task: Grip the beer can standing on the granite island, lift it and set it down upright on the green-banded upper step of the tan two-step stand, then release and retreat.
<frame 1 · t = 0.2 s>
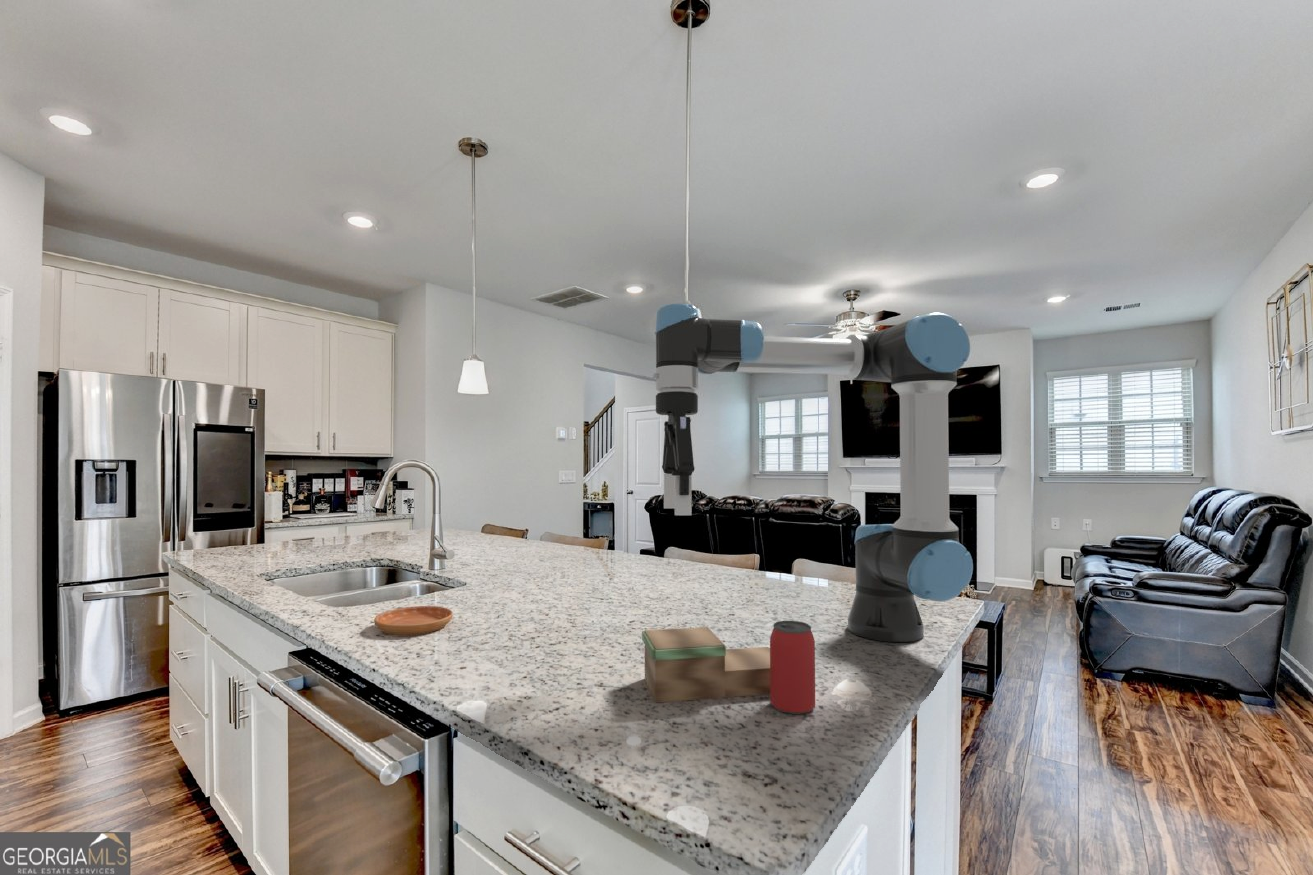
hand: (676, 511, 104), 28 cm above the worktop, fingers open, 13 cm apart
saucer: (414, 629, 129), on the worktop
step stand: (715, 685, 96), on the worktop
beer can: (792, 707, 88), on the worktop
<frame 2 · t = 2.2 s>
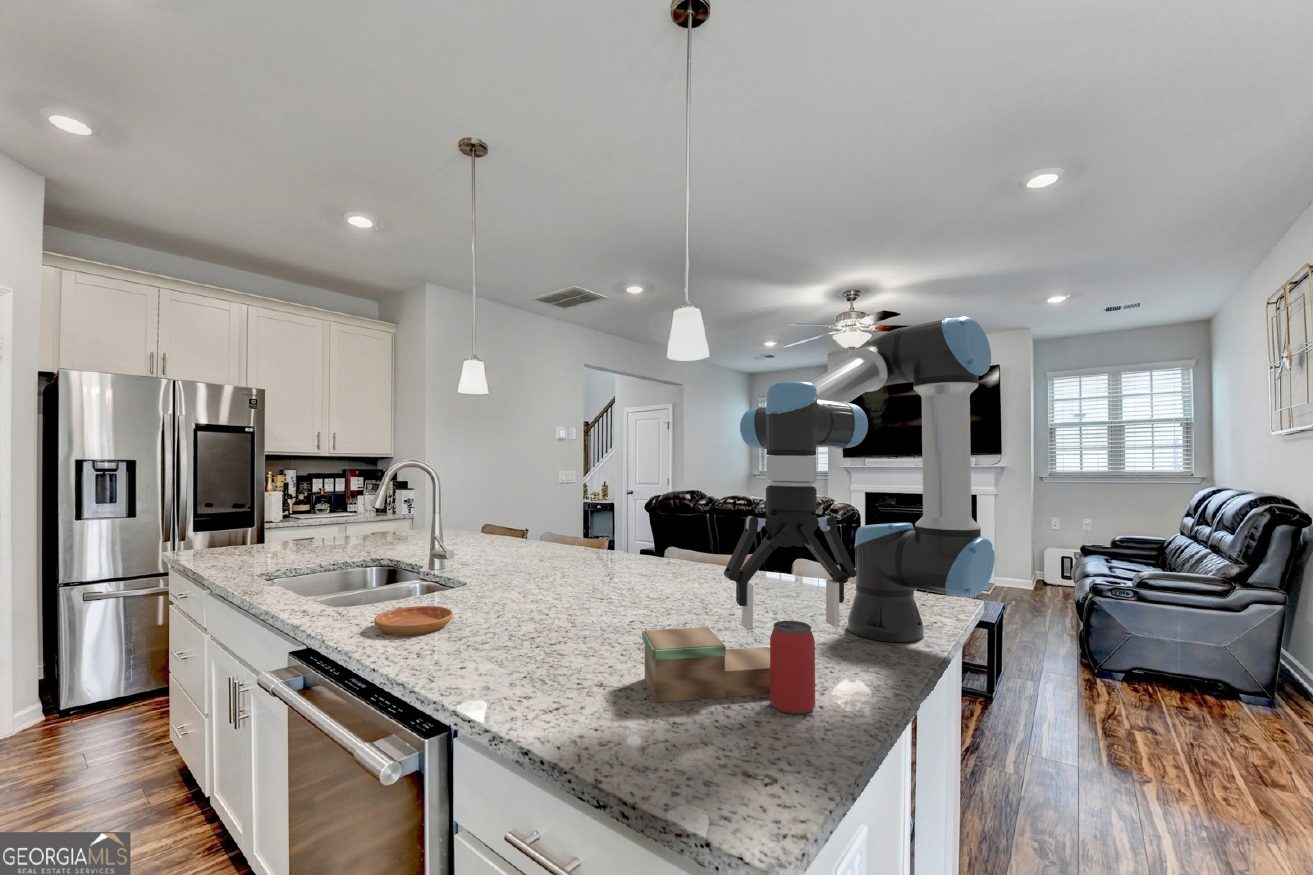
hand: (790, 626, 88), 12 cm above the worktop, fingers open, 13 cm apart
nothing on the worktop moved.
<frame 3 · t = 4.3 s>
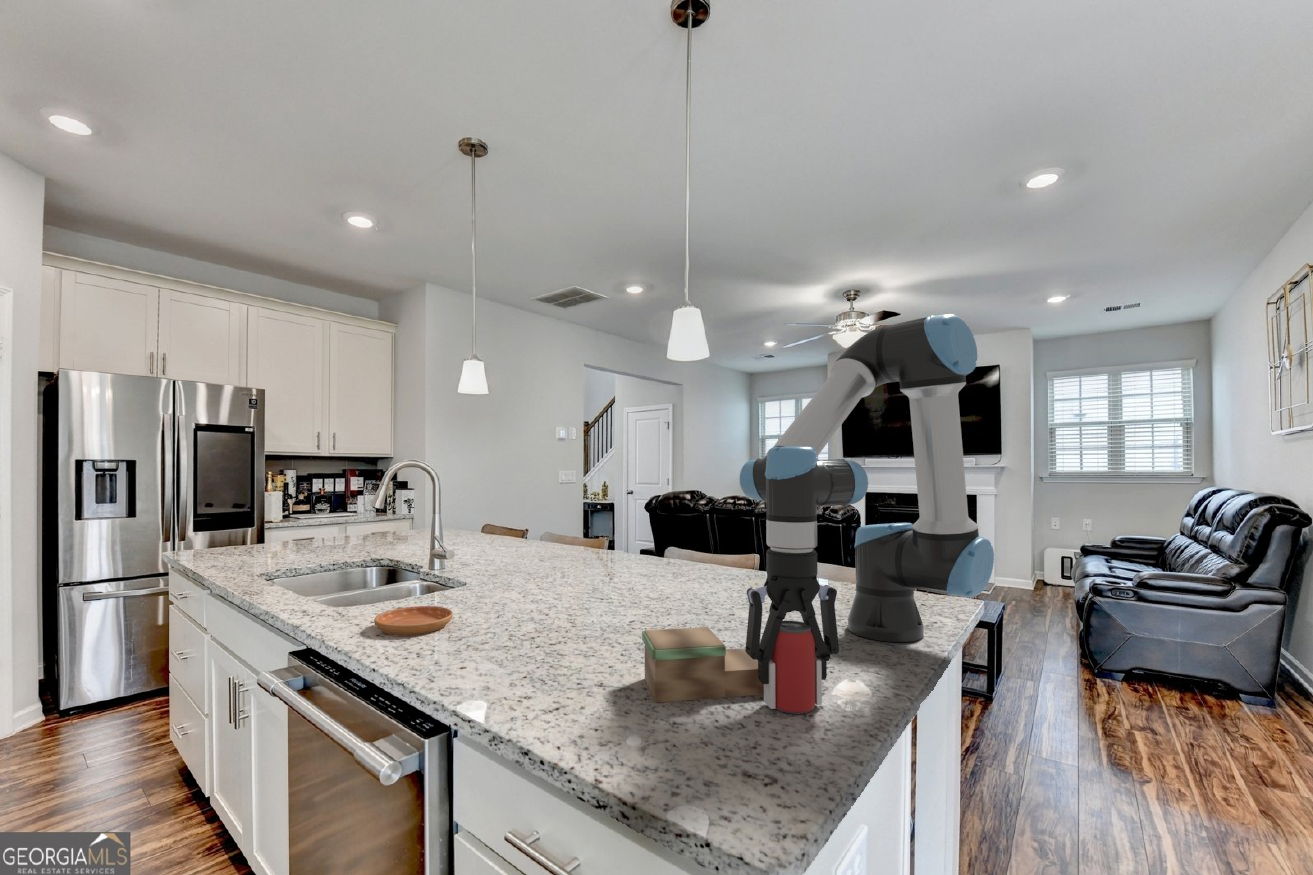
hand: (792, 702, 88), 1 cm above the worktop, fingers closed on beer can, 7 cm apart
beer can: (792, 707, 88), on the worktop, touching gripper
everything else where it was.
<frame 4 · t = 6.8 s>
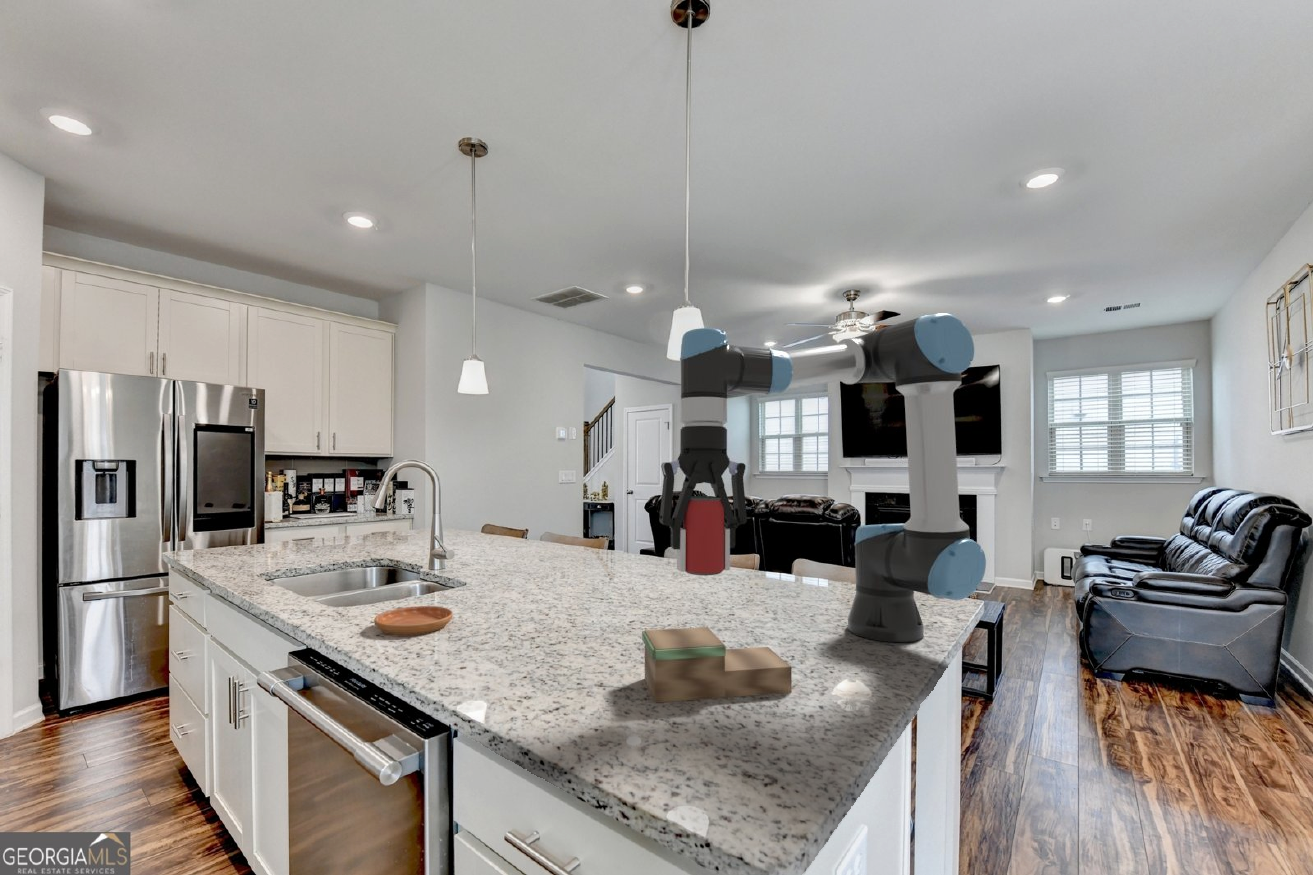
hand: (703, 569, 94), 19 cm above the worktop, fingers closed on beer can, 7 cm apart
beer can: (703, 573, 94), point 19 cm above the worktop, touching gripper
everything else where it was.
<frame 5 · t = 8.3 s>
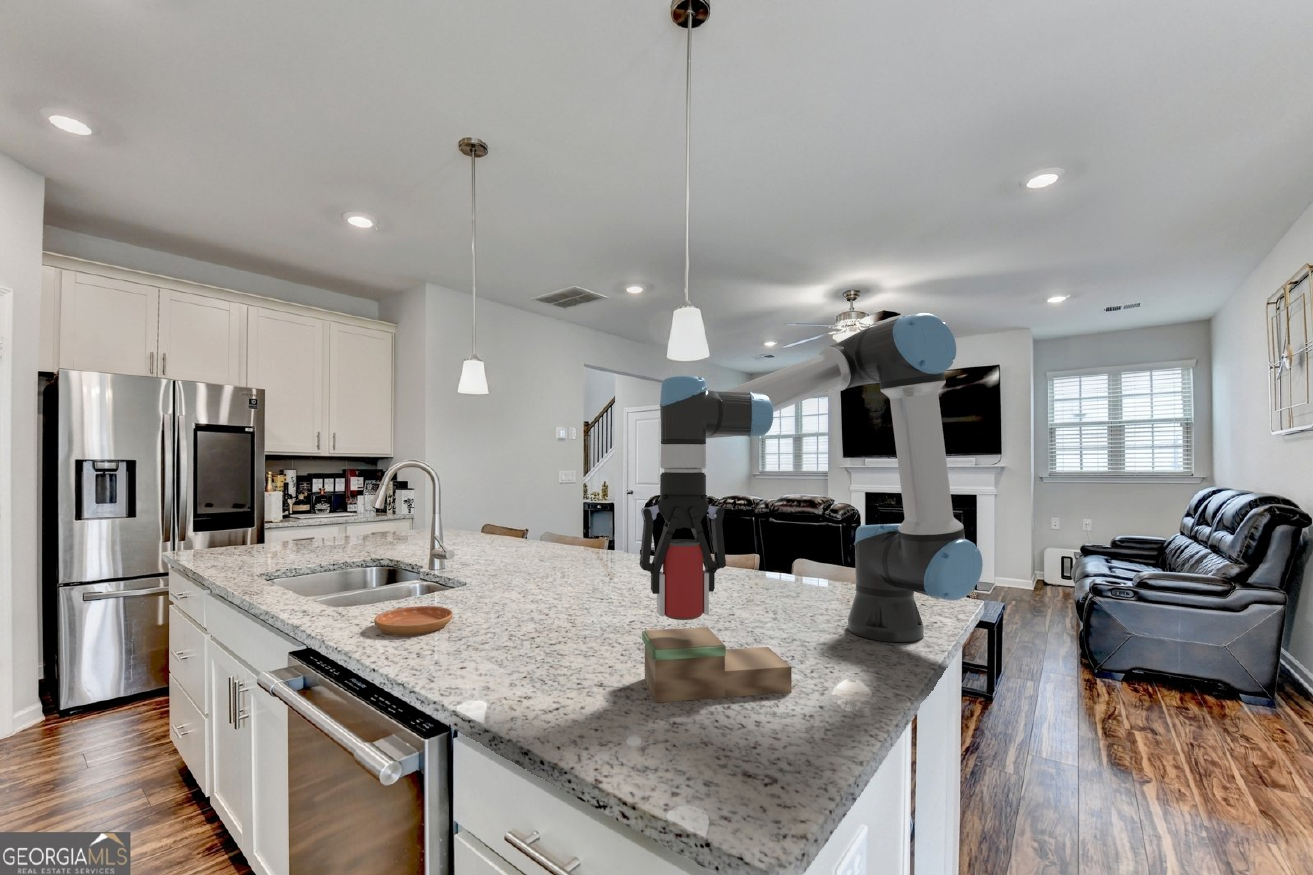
hand: (682, 612, 95), 12 cm above the worktop, fingers closed on beer can, 7 cm apart
beer can: (682, 616, 95), point 11 cm above the worktop, touching gripper
everything else where it was.
when the fingers open (10 cm above the worktop, at t = 9.5 s): beer can drops 1 cm, resting on step stand.
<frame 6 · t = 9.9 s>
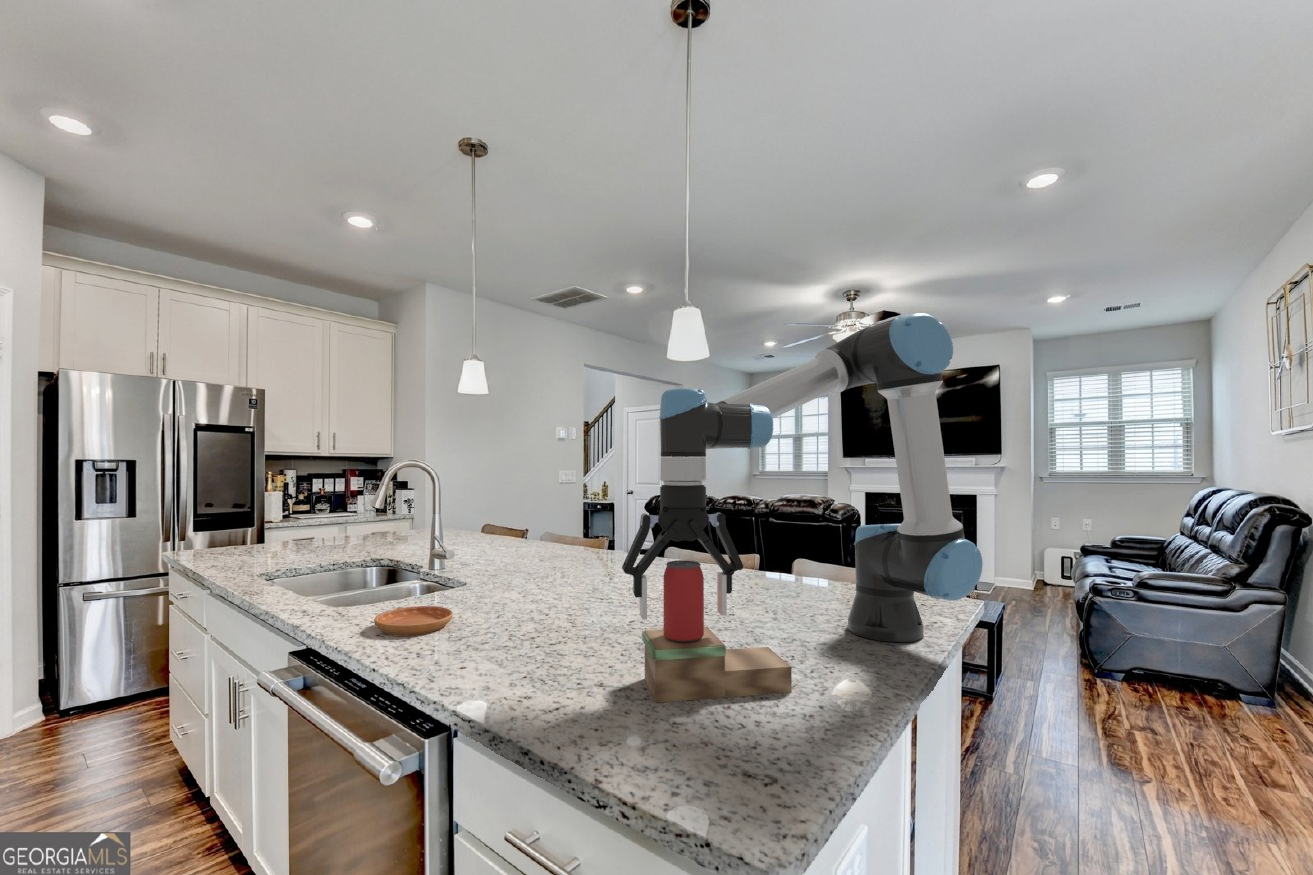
hand: (683, 615, 95), 12 cm above the worktop, fingers open, 12 cm apart
beer can: (683, 638, 95), point 8 cm above the worktop, touching step stand
everything else where it was.
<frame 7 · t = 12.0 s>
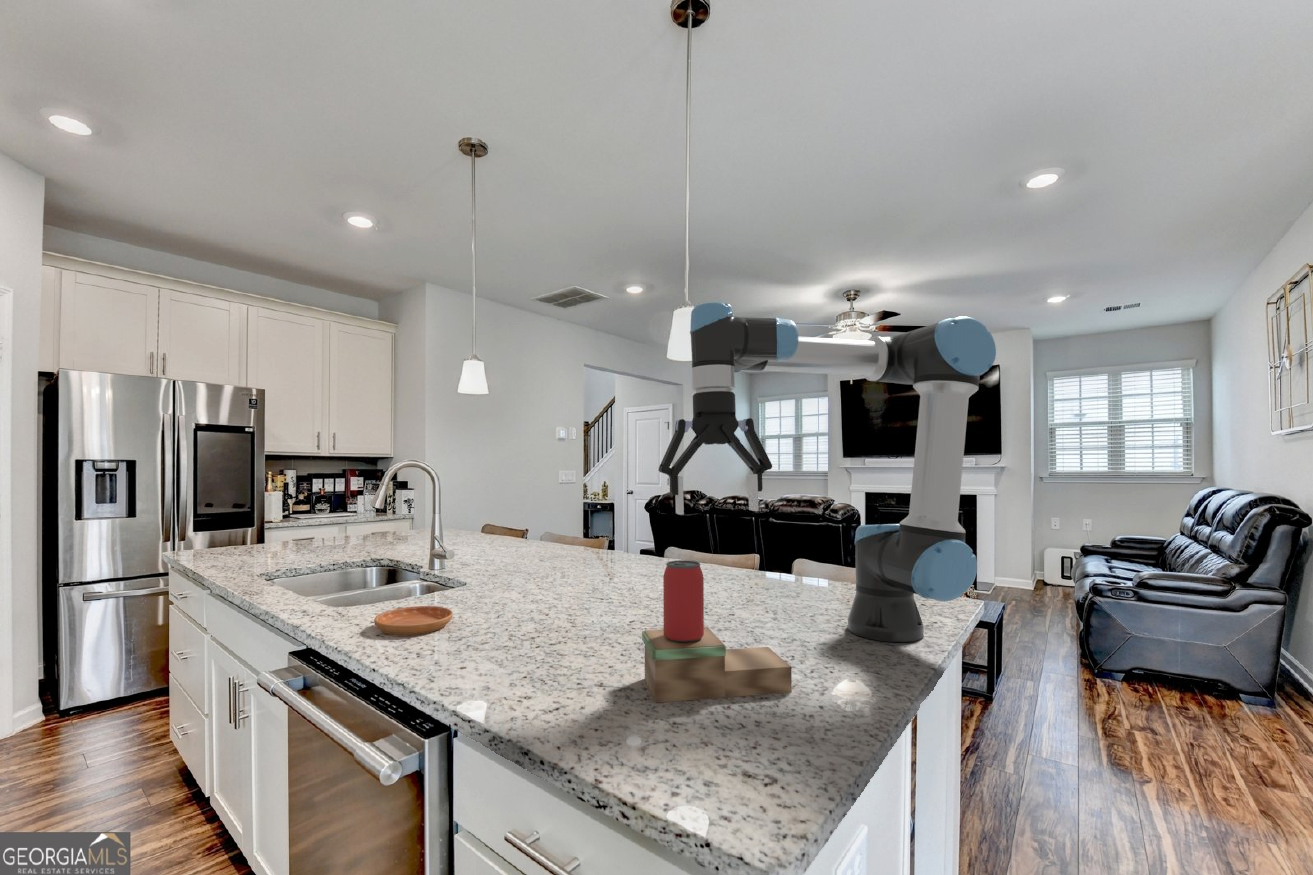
hand: (717, 512, 103), 28 cm above the worktop, fingers open, 13 cm apart
nothing on the worktop moved.
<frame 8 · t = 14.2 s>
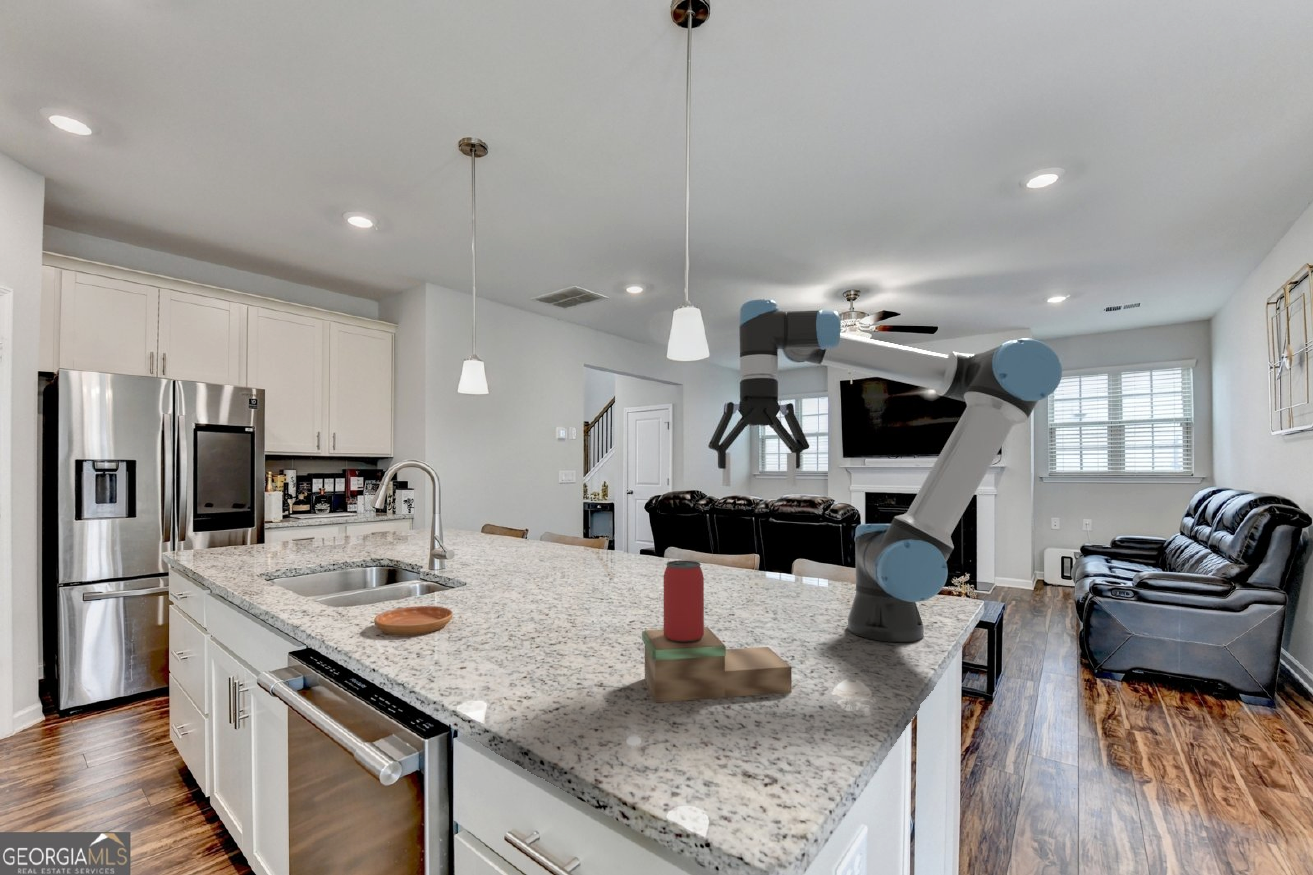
hand: (759, 485, 116), 32 cm above the worktop, fingers open, 13 cm apart
nothing on the worktop moved.
at the end: beer can inside the target area on the step stand (0.3 cm from its centre), point 7.8 cm above the step stand's base; beer can tilted 0°; the gripper is holding nothing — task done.
